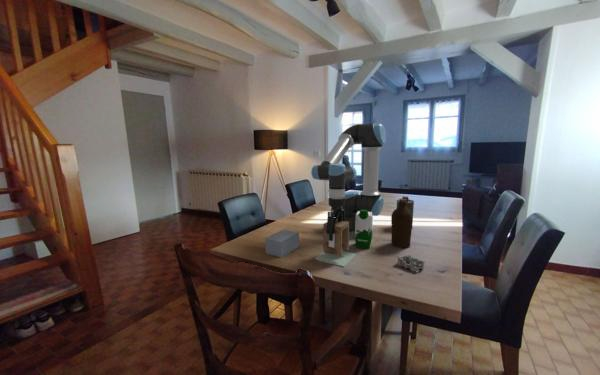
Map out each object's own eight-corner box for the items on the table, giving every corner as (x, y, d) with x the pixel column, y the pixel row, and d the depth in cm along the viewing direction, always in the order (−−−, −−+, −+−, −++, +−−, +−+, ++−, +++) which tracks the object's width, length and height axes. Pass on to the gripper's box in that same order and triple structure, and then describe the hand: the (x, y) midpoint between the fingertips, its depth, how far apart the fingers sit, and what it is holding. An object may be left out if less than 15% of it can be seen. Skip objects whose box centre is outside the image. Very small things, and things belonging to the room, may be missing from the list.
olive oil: (414, 248, 139) (417, 201, 134) (394, 248, 139) (396, 201, 134) (406, 240, 149) (409, 196, 145) (387, 241, 149) (389, 197, 145)
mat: (329, 248, 140) (329, 247, 140) (356, 255, 132) (356, 254, 132) (315, 259, 128) (315, 258, 128) (344, 267, 120) (344, 266, 119)
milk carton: (353, 247, 141) (354, 210, 137) (356, 241, 149) (356, 206, 146) (371, 249, 138) (372, 212, 134) (372, 243, 146) (373, 207, 143)
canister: (414, 230, 166) (416, 198, 162) (396, 229, 168) (398, 198, 165) (410, 225, 176) (412, 195, 173) (394, 224, 179) (395, 194, 175)
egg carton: (394, 264, 122) (395, 256, 122) (405, 260, 126) (406, 252, 125) (415, 274, 113) (415, 264, 112) (426, 269, 117) (427, 260, 116)
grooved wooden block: (310, 235, 130) (332, 216, 122) (319, 230, 138) (340, 211, 130) (332, 263, 126) (355, 244, 118) (340, 256, 134) (362, 238, 125)
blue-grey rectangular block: (265, 253, 136) (264, 238, 135) (284, 242, 149) (283, 229, 148) (281, 257, 131) (280, 241, 129) (299, 246, 144) (299, 232, 142)
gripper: (339, 192, 136) (338, 235, 139) (318, 200, 118) (318, 249, 122) (353, 194, 132) (352, 237, 135) (333, 202, 114) (333, 253, 117)
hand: (336, 243), depth 128 cm, fingers closed on grooved wooden block, 9 cm apart
